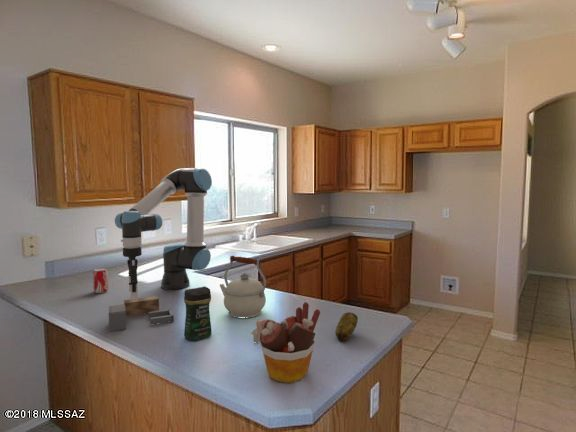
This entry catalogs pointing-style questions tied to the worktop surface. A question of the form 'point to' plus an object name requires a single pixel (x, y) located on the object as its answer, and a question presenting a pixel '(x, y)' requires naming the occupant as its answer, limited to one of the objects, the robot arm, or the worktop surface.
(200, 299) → the coffee jar
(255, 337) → the architectural model
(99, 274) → the soda can
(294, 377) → the bucket of meat
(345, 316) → the potato
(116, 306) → the roofed end cap
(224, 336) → the worktop surface
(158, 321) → the open end cap
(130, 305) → the walnut rail
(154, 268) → the worktop surface
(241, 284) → the kettle
